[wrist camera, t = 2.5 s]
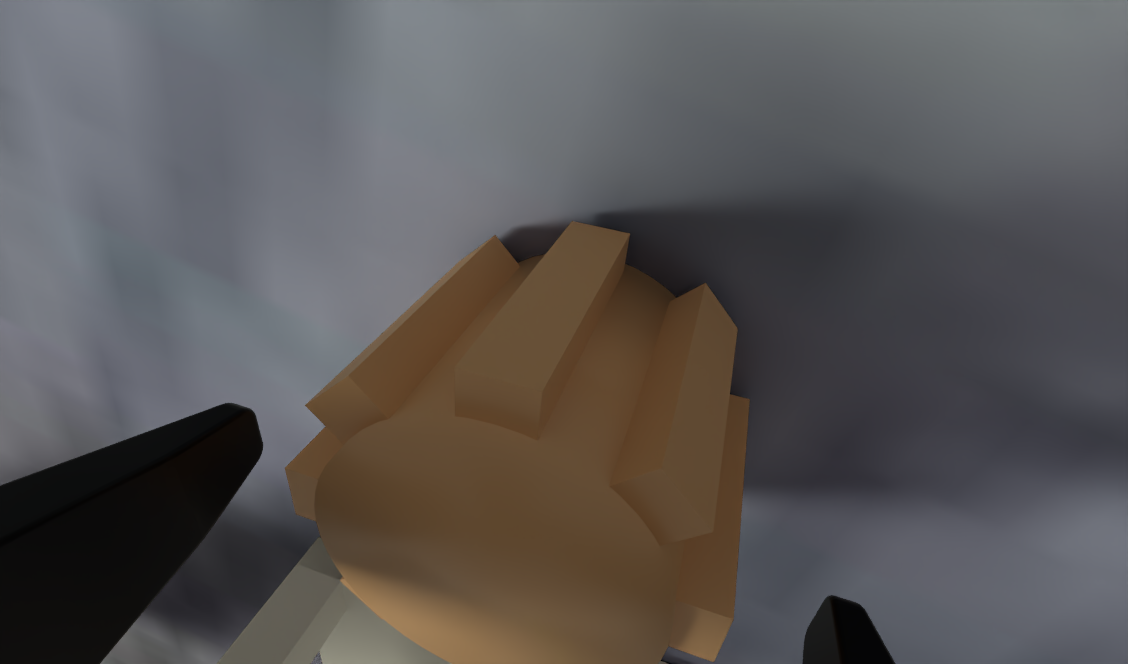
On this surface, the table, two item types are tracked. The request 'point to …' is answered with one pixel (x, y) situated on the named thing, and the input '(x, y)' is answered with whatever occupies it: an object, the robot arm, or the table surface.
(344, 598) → the housing
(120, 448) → the robot arm
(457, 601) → the gear hub
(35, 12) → the table surface
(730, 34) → the table surface
